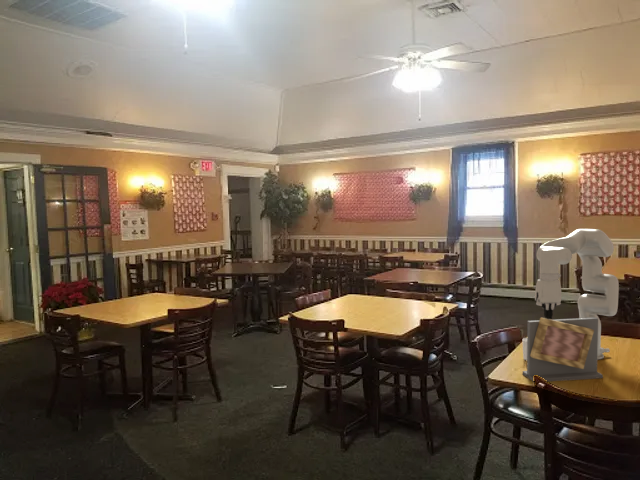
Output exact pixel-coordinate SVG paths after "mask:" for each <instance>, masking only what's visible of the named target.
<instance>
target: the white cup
mask: <svg viewBox="0 0 640 480" xmlns="http://www.w3.org/2000/svg"><path fill="white" fill-rule="evenodd" d="M522 357H523V360H524V361H526V362H527V337H523V338H522Z"/></svg>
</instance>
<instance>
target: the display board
mask: <svg viewBox="0 0 640 480" xmlns="http://www.w3.org/2000/svg"><path fill="white" fill-rule="evenodd" d="M598 318H599V317H598ZM598 318H579V317H578V318H560V319H559V318H558V319H554V320H555V321H559V322H564V323H568V324H573V325H577V326H581V327H586V328H590V329H593V330H594V333H593V336H592V340H591V343H590V347H589V351H588V354H587V358H586V362H585V365H584V369H581V368H576V367H572V366H567V365H563V364H558V363H553V362H549V361H544V360H540V359H535V358H532V357H531V356H530V354H531V351H532V347H533V343H534V339H535V336H536V332H537V328H538V325H539V321H540V319H539V320H536V319H535V320H527V322H526V323H527V324H526V325H527V333H526V334H527V335H526V338H527V361H526V370H522V375H523V376H524V377H526V378H528V379H529V380H530V381H531V380H532V382H533V376H534V375H538V376H540V377H542V378H544V379H545V380H547V381H546V382H558V381H560V382H561V381H576V380H594V379H595V380H596V379H603V377H604V376H603V374H602V373H601V372H598V360H597V349H598Z"/></svg>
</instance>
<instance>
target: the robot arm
mask: <svg viewBox="0 0 640 480" xmlns="http://www.w3.org/2000/svg"><path fill="white" fill-rule="evenodd" d="M614 249H615V246H614V244H613V241H612V240H611V239H610V237H609V236H608V235H607V234H606V233H605V232H604V231H603V230H602V229H598V228H596V229H595V228H578V229H575V230H573V231H572V232H570V233H569V234H568V235H566V236H565V237H560V238H557V239H553V240H549V241H547V242H545V243H543V244H541V245H540V246H539V247H538V249H537V251H536V259H537V260H538V262H539V279H537V280H536V284H535V292H534V294H535V295H534V301H536V303H535V305H536V306H540V307H542V309H543V316H544V318H546V319H551V320H553V314H554V310H555V308H556V307H557V306H560V305H561V304H562V303H561V301H562V297H563V295H562V286H561V285H562V284H561V281H560V279H559V278H561V277H562V274H561V273H559V265H566V264H567V265H568V264H569V263H570V262H571V261H572V258H573V255H574V254H577V255H578V256H579V258H580V260H581V262H582V268H581V269H582V273H581V275H582V276H581V286H582V287H581V288H582V289H583V290H584V291H586V292H591V293H584V294H581V295H579V297H578V299H577V308H578V314H579V317H578V318H598V349H597V361H598V360H603V359H604V357H605V356H604V354H605V353H610V351H611V350H610V348H604V347H601V346H602V345H601V344H602V341H601V340H602V337H601V336H602V335H601V334H602V321H601V320H600V317H599V316H598V315H600V316H606V317H613V316H615V315H616V314H617V312H618V307H619V292H620V290H619V288H620V287H619V285H620V284H619V283H620V282H619V279H618V277H617V276H616V275H614V274H610V273H609V274H608V273H603V270H602V269H603V263H602V261H601V258H602V257H604V258H608V257H610V256H612V255H613V253H614ZM592 292H593V293H600V294H604V295H599V294H592Z"/></svg>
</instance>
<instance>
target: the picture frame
mask: <svg viewBox="0 0 640 480" xmlns="http://www.w3.org/2000/svg"><path fill="white" fill-rule="evenodd" d="M539 320H540V321H539V325H538V328H537V332H536V336H535V339H534V343H533V347H532V351H531V354H530V356H531V357H532V358H535V359H540V360H544V361H549V362H553V363H558V364H563V365H567V366H572V367H576V368H581V369H584V365H585V362H586V358H587V354H588V351H589V347H590V343H591V340H592V336H593V333H594V330H593V329H590V328H586V327H581V326H577V325H573V324H568V323H564V322H559V321H555V320H556V319H547V318H545V317H540V318H539Z"/></svg>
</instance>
